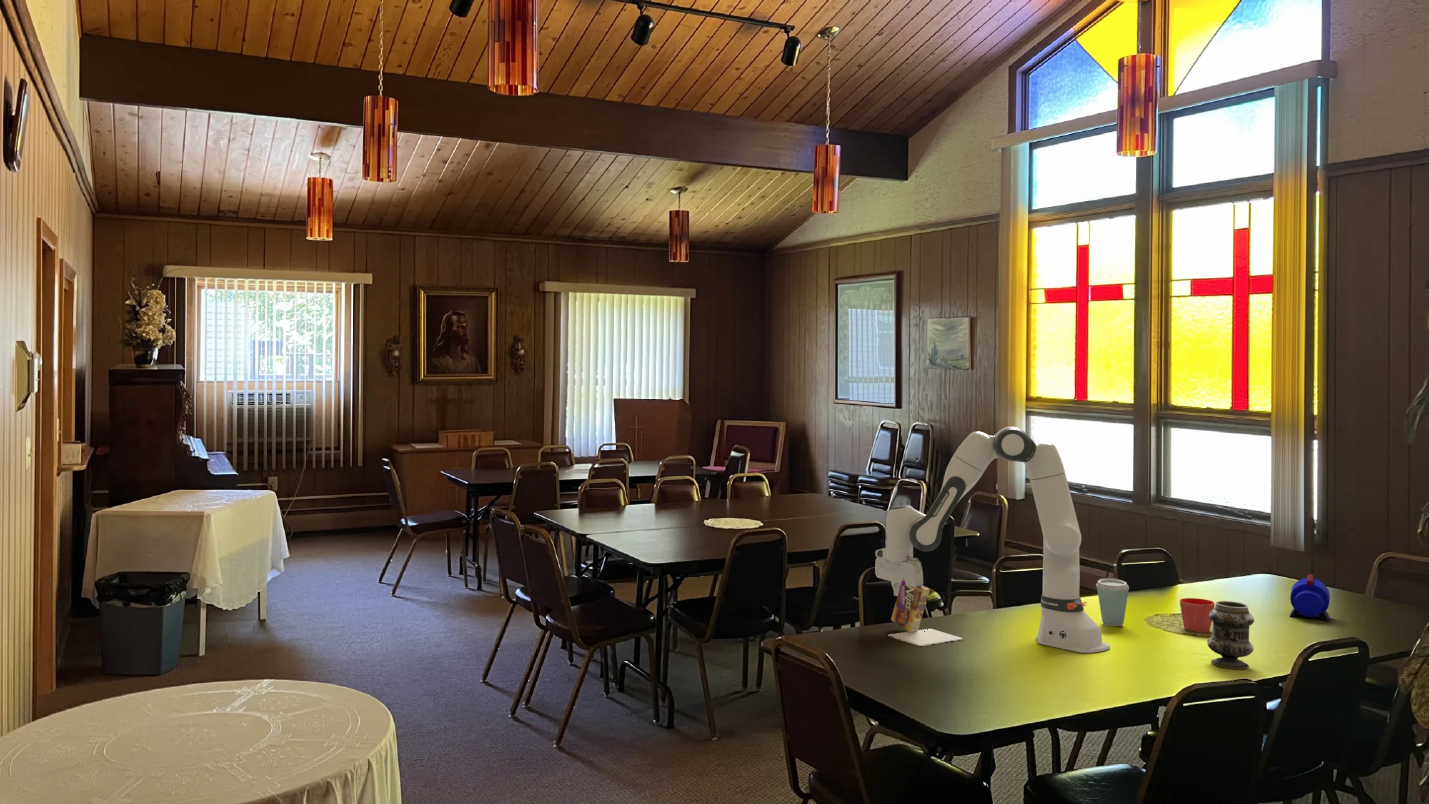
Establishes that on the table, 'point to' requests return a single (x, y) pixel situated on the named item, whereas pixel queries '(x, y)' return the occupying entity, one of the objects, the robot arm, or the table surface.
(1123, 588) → the disposable coffee cup
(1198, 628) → the flower pot
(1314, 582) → the alarm clock
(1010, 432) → the robot arm
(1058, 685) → the table surface
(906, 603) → the candy box
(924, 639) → the mat
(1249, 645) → the apothecary jar
